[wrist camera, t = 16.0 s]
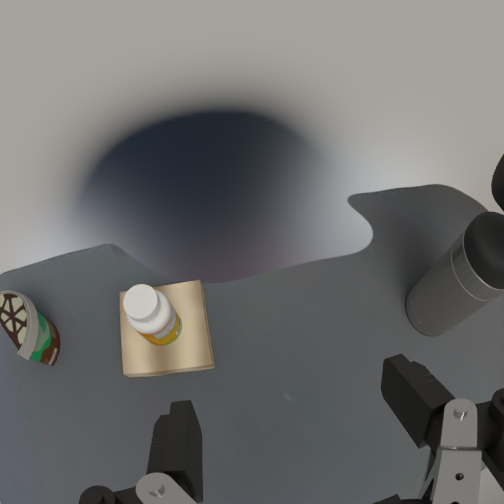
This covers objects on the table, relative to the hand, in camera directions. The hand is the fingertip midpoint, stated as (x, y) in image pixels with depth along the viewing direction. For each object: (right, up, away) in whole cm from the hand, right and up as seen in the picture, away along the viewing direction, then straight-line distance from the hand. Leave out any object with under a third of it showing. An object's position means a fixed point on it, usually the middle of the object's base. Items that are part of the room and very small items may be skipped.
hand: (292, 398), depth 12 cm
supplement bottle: (-13, -4, +29) cm, 32 cm away
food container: (-35, -7, +30) cm, 47 cm away
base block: (-14, -6, +31) cm, 34 cm away
